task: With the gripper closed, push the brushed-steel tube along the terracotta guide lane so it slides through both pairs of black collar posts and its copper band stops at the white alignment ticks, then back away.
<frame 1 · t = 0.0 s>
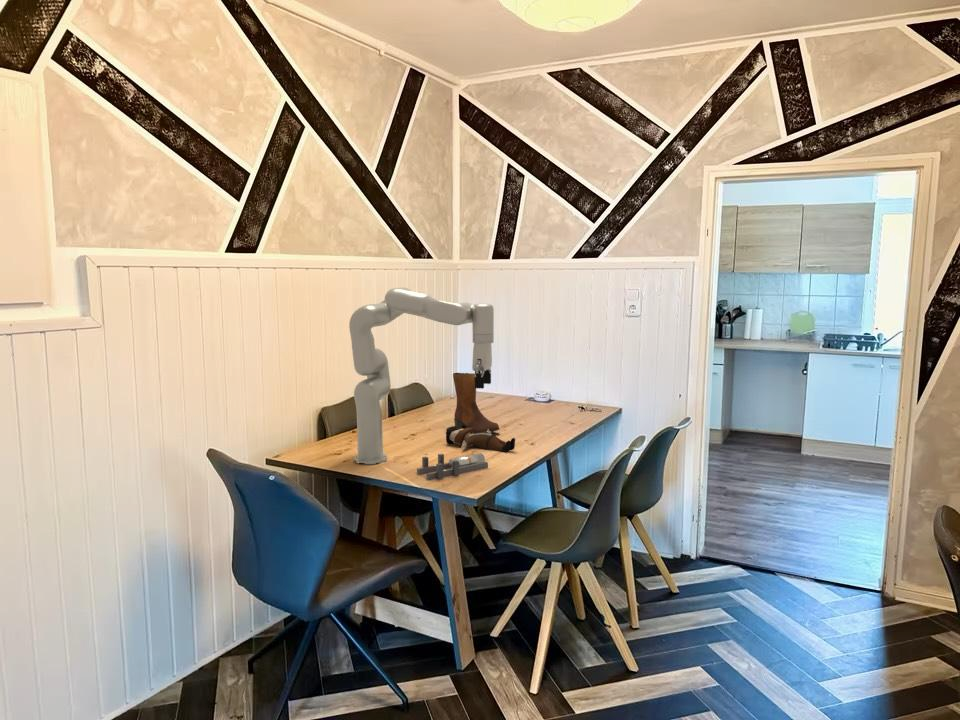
hand: (483, 385, 228), 31 cm above the table, tool pointing down, fingers open, 9 cm apart
steel tube: (466, 467, 231), point 1 cm above the table, touching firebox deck
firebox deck: (452, 473, 228), on the table
boot: (475, 431, 289), on the table
toy: (479, 449, 261), on the table
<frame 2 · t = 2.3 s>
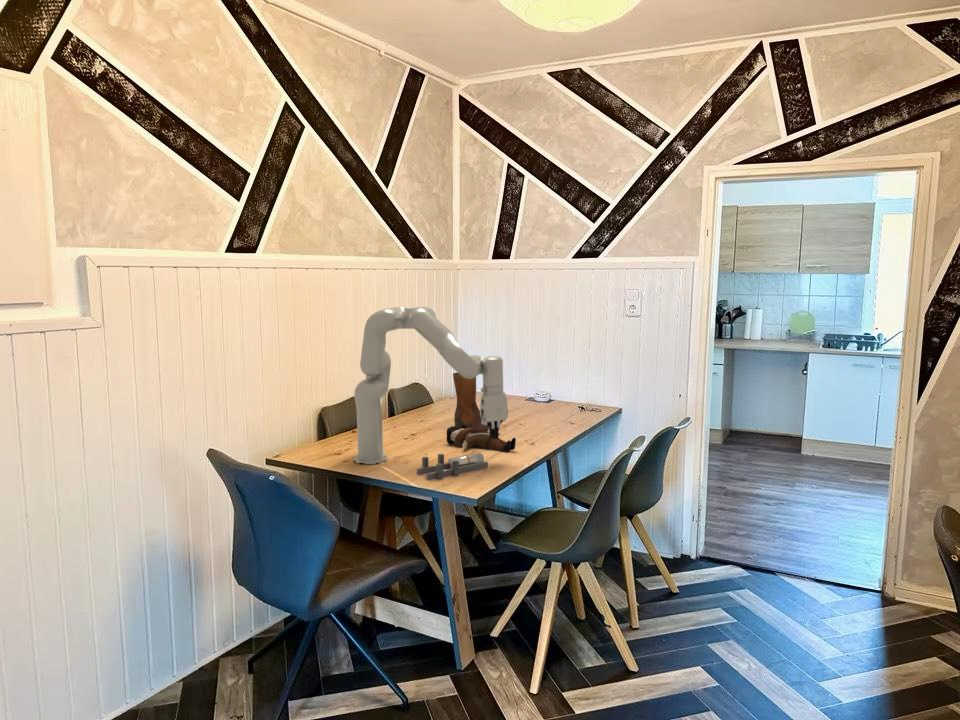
hand: (494, 438, 236), 10 cm above the table, tool pointing down, fingers closed
steel tube: (466, 467, 231), point 1 cm above the table, tilted 15°, touching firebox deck
everything else where it was.
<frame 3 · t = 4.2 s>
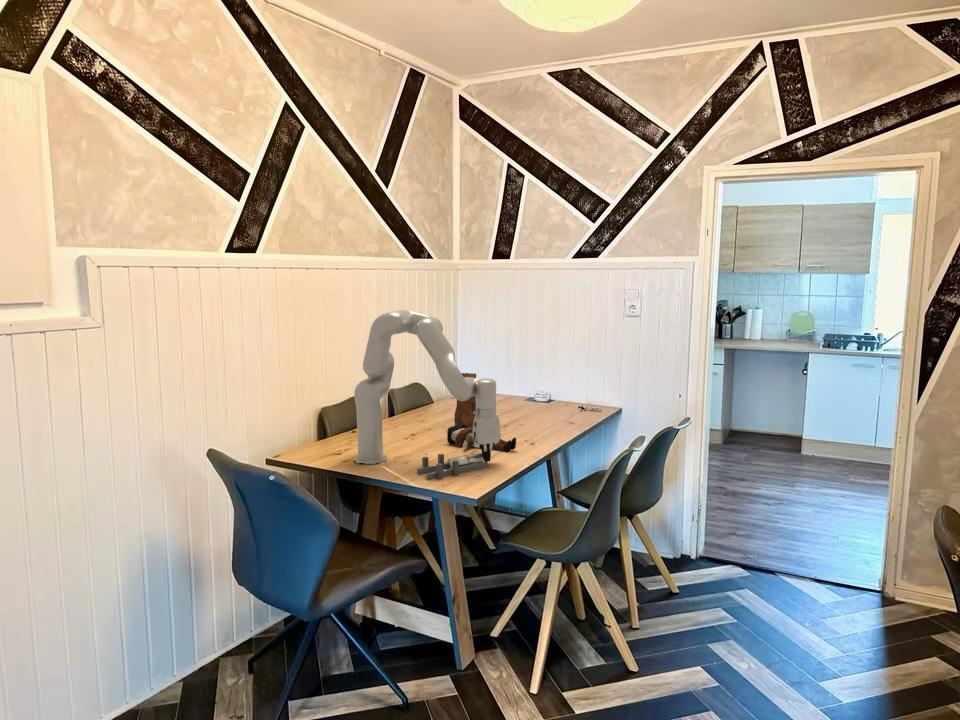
hand: (486, 460, 235), 2 cm above the table, tool pointing down, fingers closed
steel tube: (466, 467, 231), point 1 cm above the table, tilted 13°, touching gripper
everything else where it was.
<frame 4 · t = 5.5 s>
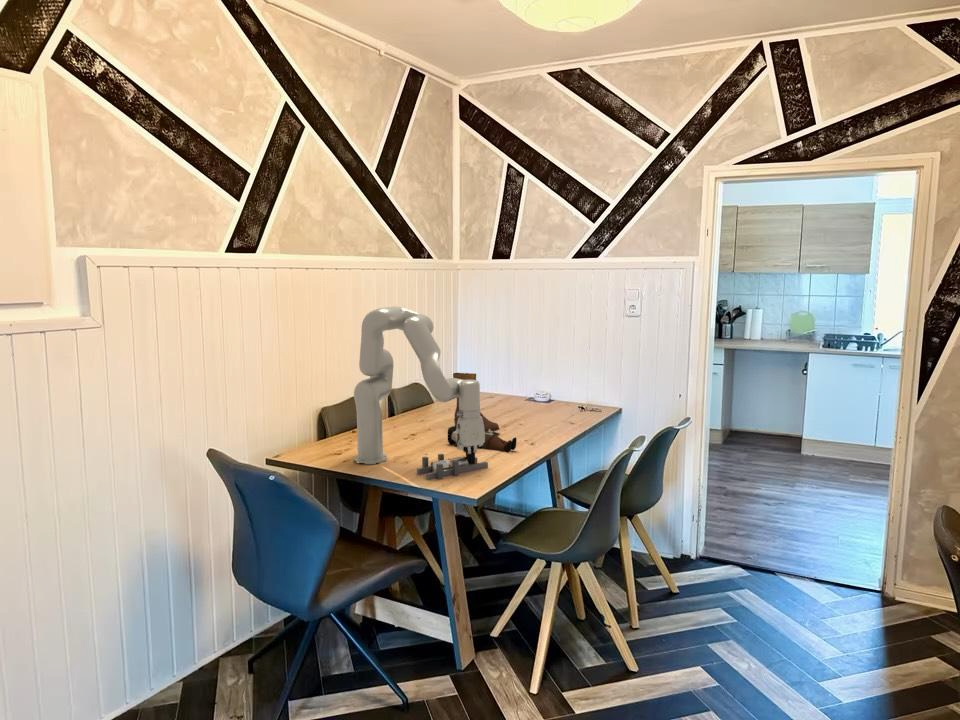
hand: (470, 463, 231), 3 cm above the table, tool pointing down, fingers closed
steel tube: (450, 471, 227), point 1 cm above the table, tilted 14°, touching gripper
everything else where it was.
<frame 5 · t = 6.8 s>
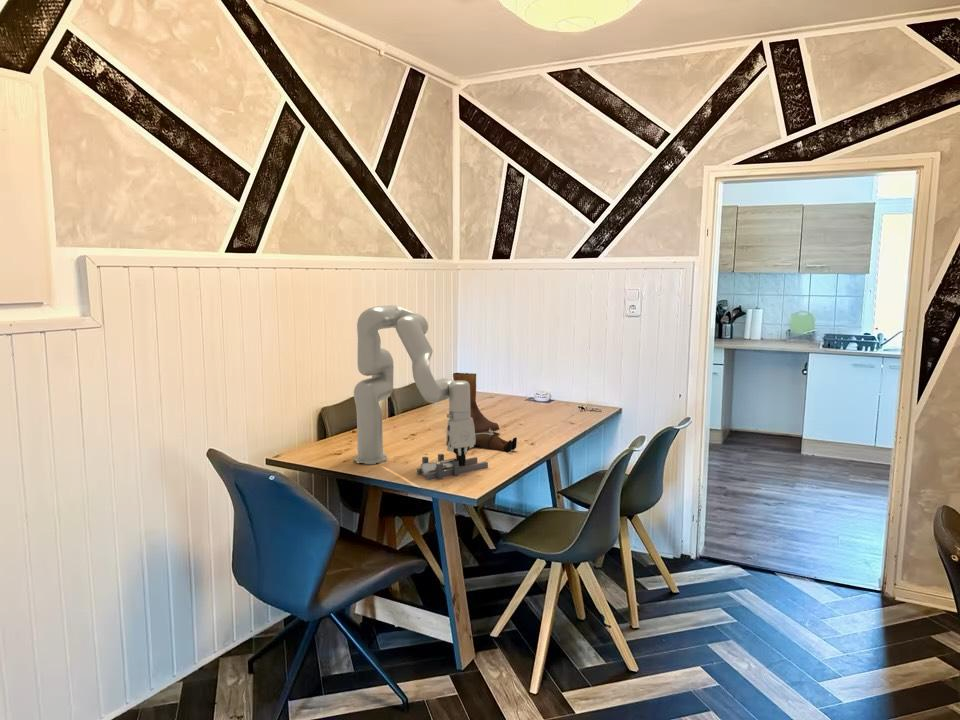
hand: (461, 465, 229), 3 cm above the table, tool pointing down, fingers closed
steel tube: (440, 473, 224), point 1 cm above the table, tilted 14°, touching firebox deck, gripper
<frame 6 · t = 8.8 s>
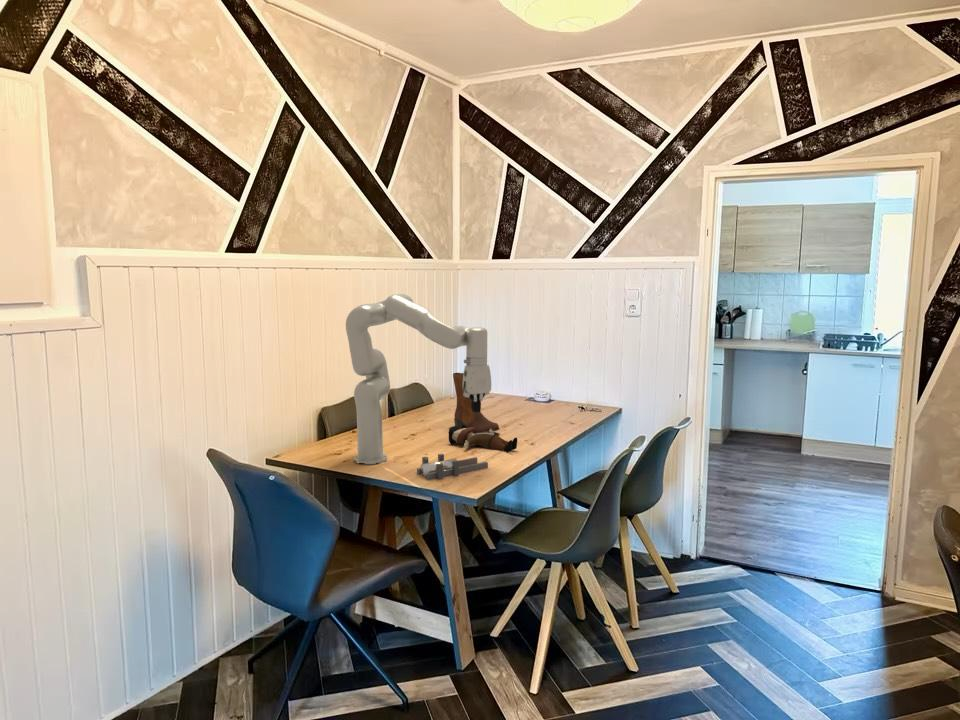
hand: (476, 411, 231), 21 cm above the table, tool pointing down, fingers closed
steel tube: (440, 473, 224), point 1 cm above the table, tilted 6°, touching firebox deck
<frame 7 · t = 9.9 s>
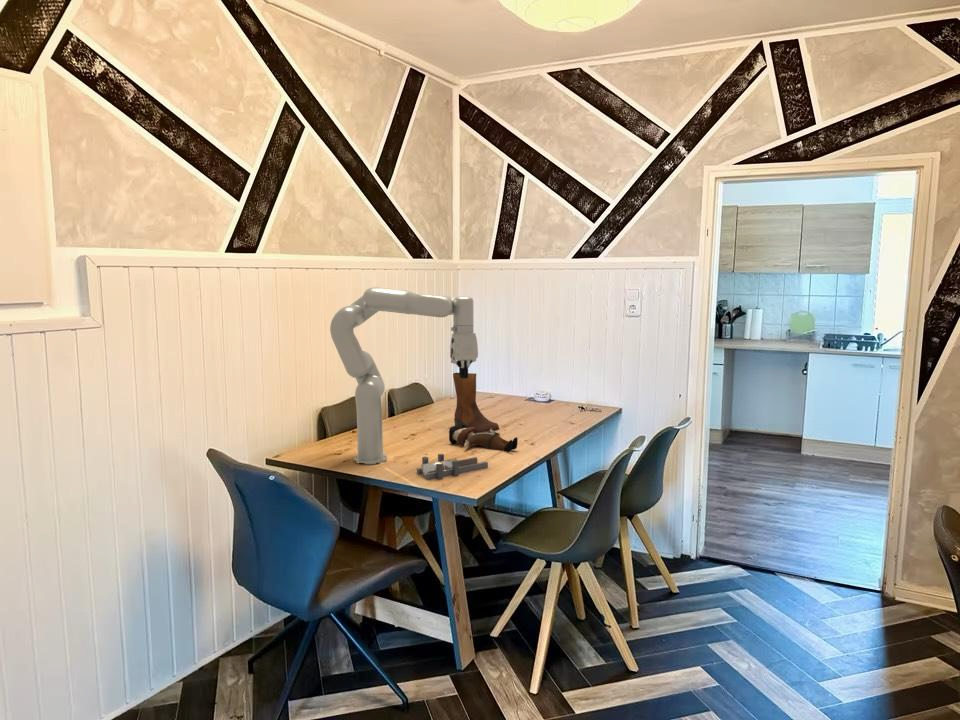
hand: (463, 377, 240), 32 cm above the table, tool pointing down, fingers closed
steel tube: (440, 473, 224), point 1 cm above the table, touching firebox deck
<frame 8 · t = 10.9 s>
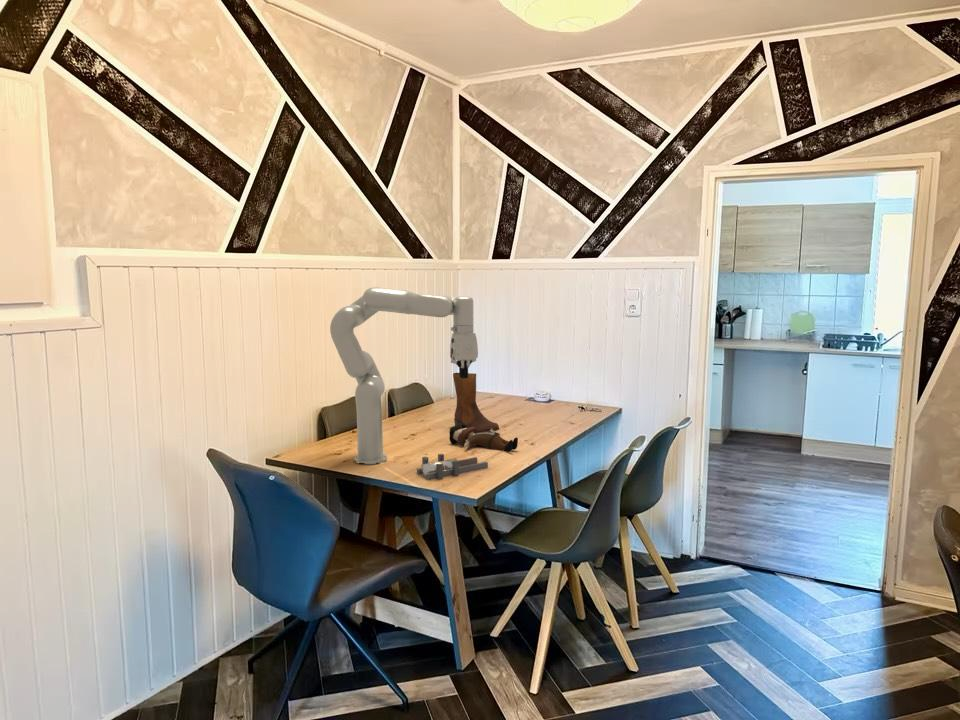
hand: (463, 377, 240), 32 cm above the table, tool pointing down, fingers closed
at the end: steel tube 0.5 cm from the target spot, point 1.0 cm above the table; steel tube moved 11.6 cm from its start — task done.
